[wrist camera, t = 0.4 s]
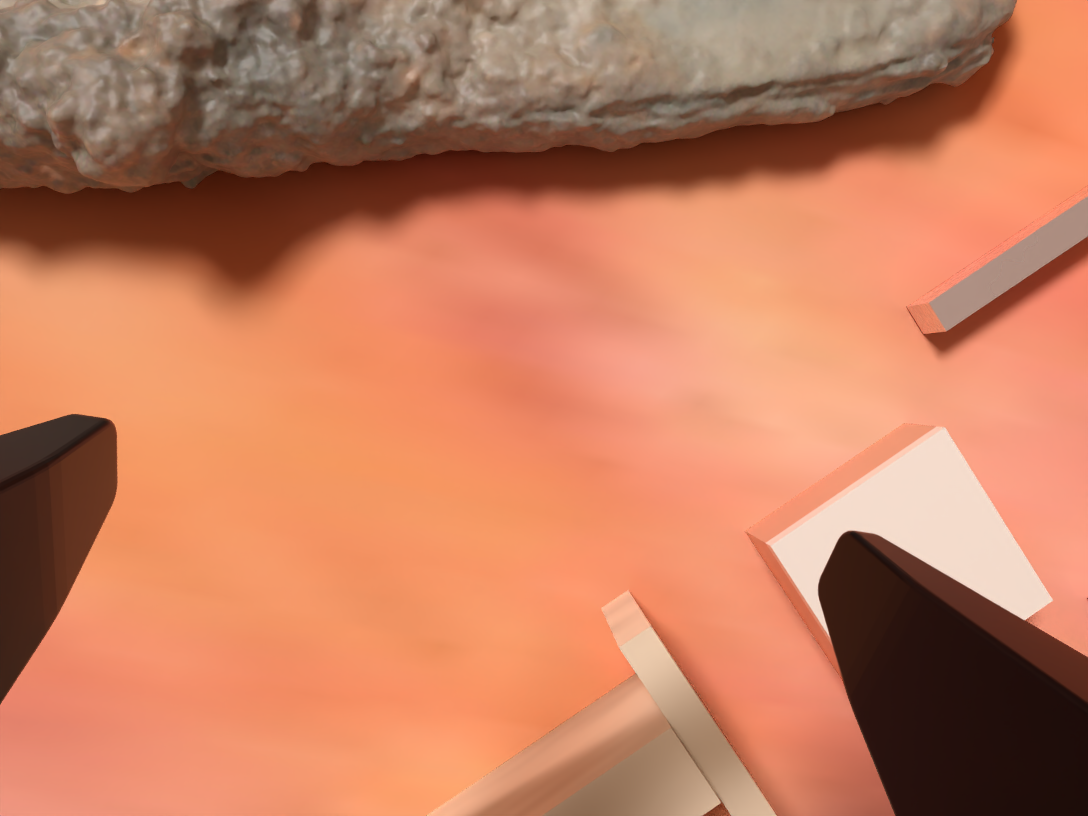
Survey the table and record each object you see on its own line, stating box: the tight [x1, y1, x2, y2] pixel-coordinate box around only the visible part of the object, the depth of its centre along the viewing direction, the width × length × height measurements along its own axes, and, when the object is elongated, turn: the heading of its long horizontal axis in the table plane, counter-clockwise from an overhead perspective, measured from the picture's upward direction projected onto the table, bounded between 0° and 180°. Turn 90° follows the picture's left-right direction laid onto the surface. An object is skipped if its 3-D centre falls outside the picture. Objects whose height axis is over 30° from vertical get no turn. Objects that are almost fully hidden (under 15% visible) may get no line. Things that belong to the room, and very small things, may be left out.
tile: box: [745, 423, 1053, 681], centre depth 23 cm, size 6×6×2 cm
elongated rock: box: [0, 0, 1017, 194], centre depth 20 cm, size 35×5×10 cm
